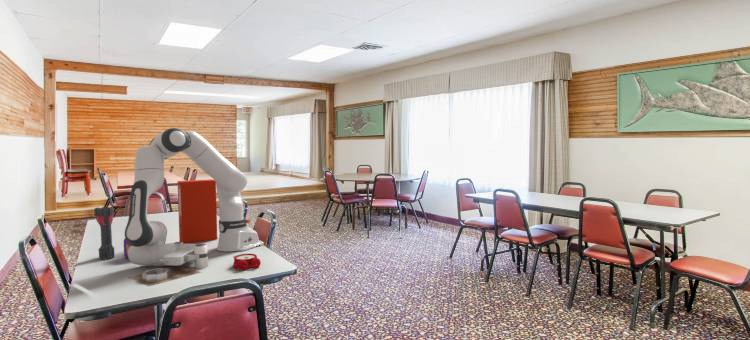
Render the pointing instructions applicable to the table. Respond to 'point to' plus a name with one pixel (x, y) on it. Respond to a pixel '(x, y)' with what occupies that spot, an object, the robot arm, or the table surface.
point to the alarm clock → (246, 261)
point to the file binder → (197, 210)
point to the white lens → (201, 256)
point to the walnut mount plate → (174, 274)
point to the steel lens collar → (156, 274)
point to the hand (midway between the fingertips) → (203, 254)
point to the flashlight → (105, 231)
